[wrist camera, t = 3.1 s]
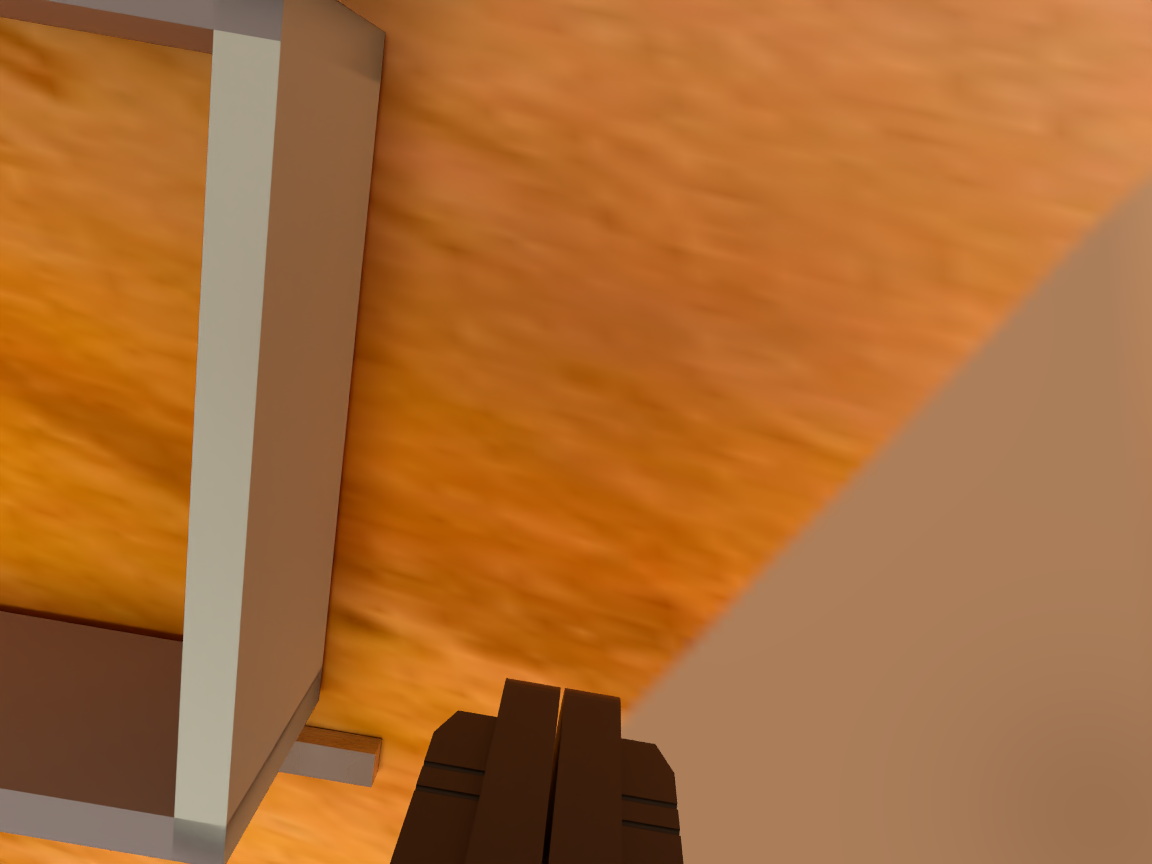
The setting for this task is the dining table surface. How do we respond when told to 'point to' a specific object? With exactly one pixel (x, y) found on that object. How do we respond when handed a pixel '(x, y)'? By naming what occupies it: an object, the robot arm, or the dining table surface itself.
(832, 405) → the dining table surface
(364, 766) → the rails
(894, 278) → the dining table surface
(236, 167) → the gray u-shaped wall
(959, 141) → the dining table surface
